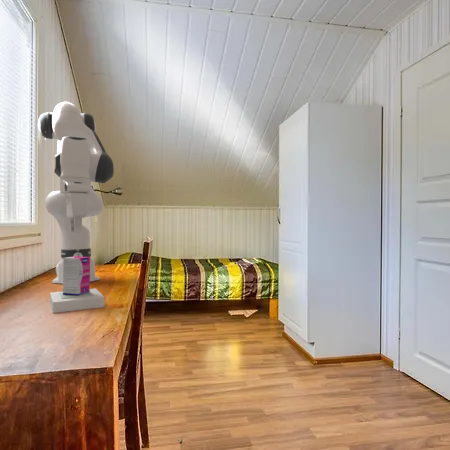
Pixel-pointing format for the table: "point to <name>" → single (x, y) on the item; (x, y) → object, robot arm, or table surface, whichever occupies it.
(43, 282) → the table surface
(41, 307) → the table surface
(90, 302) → the dock
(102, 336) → the table surface
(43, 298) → the table surface
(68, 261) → the supplement box
